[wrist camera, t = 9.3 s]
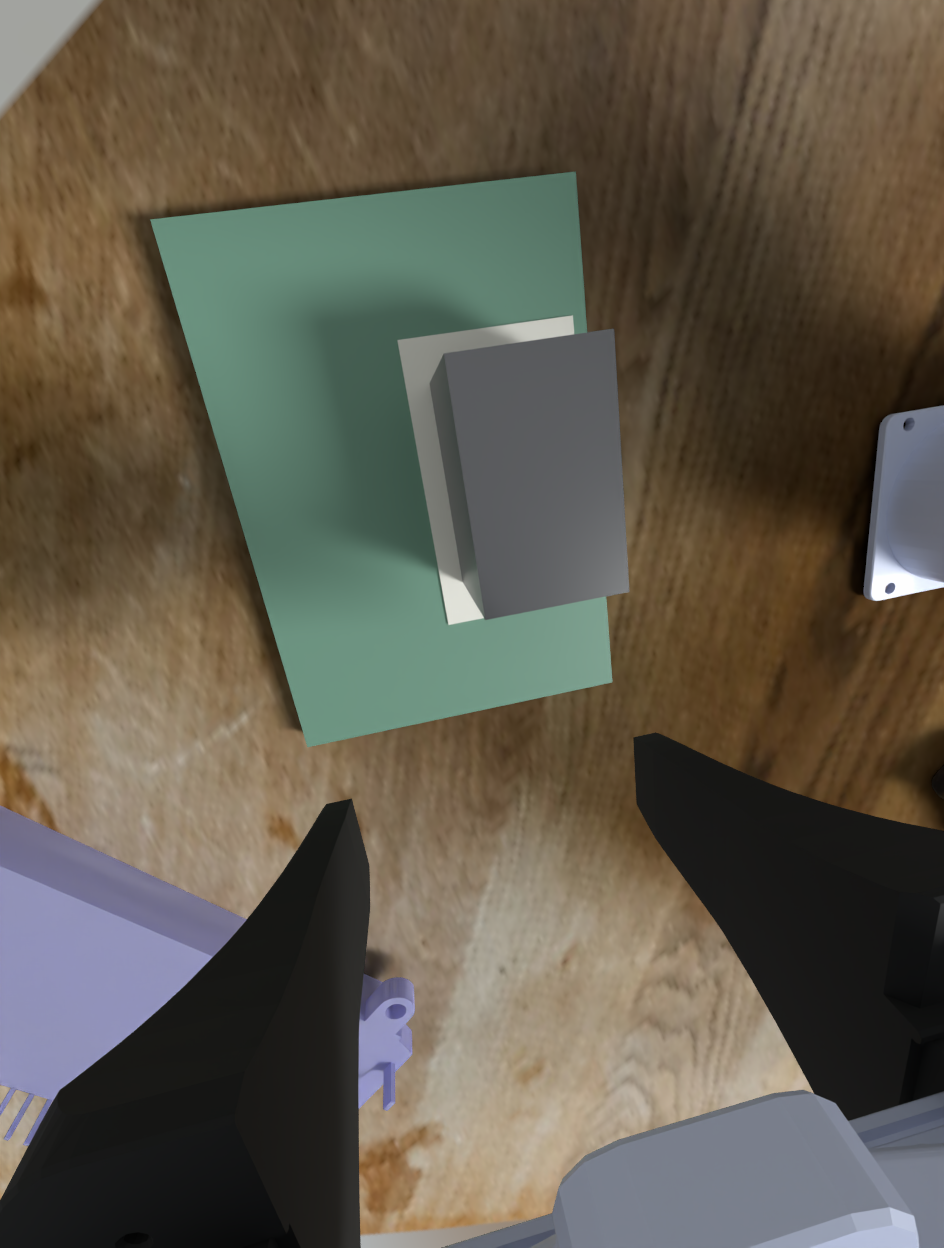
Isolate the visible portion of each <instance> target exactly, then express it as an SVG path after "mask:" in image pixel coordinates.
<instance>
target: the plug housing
mask: <svg viewBox="0 0 944 1248" xmlns="http://www.w3.org/2000/svg"><path fill="white" fill-rule="evenodd" d="M429 384H430V390H431V396H432V402H433V408H434V414H435V420H436V426H437V432H438V438H439V444H440V450H441V456H442V462H443V468H444V474H445V480H446V486H447V492H448V498H449V504H450V510H451V516H452V522H453V528H454V534H455V540H456V546H457V552H458V558H459V564H460V570H461V576H462V582H463V584H464V585H465V587H466V589H467V590H468V592H469V594H470V595H471V597H472V599H473V600H474V602H475V604H476V605H477V607H478V609H479V610H480V612H481V614H482V615H483V617H484V619H485V620H489V619H494V618H499V617H504V616H509V615H514V614H520V613H525V612H530V611H535V610H540V609H545V608H550V607H555V606H560V605H565V604H570V603H575V602H580V601H585V600H590V599H595V598H600V597H606V596H611V595H616V594H621V593H626V592H629V578H628V561H627V544H626V527H625V510H624V492H623V475H622V458H621V441H620V423H619V406H618V389H617V372H616V354H615V337H614V329H607V330H601V331H594V332H587V333H580V334H573V335H566V336H559V337H553V338H546V339H539V340H532V341H525V342H518V343H512V344H505V345H498V346H491V347H484V348H477V349H471V350H464V351H457V352H450V353H444V354H443V356H442V358H441V360H440V362H439V364H438V367H437V369H436V371H435V373H434V375H433V377H432V379H431V381H430V383H429Z"/></svg>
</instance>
